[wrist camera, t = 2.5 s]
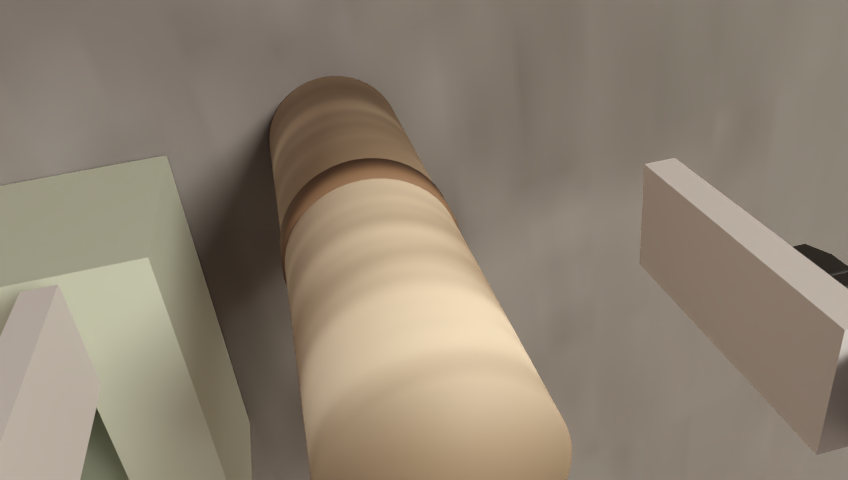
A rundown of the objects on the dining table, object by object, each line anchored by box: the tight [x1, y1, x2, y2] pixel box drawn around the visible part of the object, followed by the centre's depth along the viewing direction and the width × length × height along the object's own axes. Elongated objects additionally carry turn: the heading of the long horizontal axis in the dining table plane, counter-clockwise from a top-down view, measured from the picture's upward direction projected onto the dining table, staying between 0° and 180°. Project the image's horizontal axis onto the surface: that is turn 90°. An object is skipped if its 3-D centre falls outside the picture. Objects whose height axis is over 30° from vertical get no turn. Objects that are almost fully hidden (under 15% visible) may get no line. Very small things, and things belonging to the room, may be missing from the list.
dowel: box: [269, 76, 572, 480], centre depth 17 cm, size 4×4×14 cm
